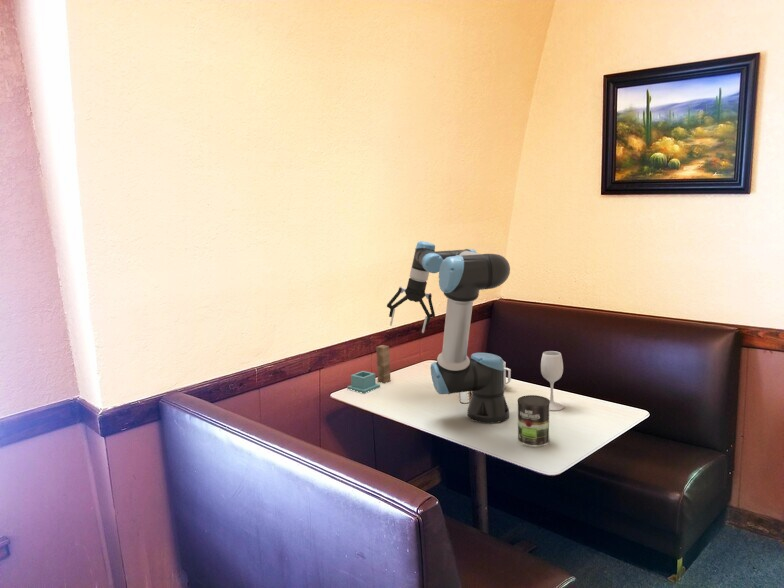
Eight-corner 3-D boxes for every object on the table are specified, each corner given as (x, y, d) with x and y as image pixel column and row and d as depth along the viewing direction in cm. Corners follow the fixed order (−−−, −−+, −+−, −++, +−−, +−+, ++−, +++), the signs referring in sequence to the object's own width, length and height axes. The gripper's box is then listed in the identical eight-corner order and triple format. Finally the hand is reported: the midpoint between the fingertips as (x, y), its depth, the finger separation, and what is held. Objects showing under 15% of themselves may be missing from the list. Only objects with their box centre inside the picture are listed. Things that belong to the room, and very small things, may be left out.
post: (390, 381, 268) (389, 346, 266) (384, 383, 265) (383, 348, 263) (383, 379, 271) (382, 344, 268) (377, 381, 268) (376, 346, 265)
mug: (480, 388, 253) (479, 363, 251) (492, 383, 259) (492, 358, 257) (503, 394, 245) (503, 368, 243) (516, 389, 251) (516, 363, 249)
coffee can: (544, 449, 192) (544, 407, 190) (513, 443, 198) (512, 402, 195) (553, 437, 201) (553, 397, 199) (523, 432, 206) (523, 393, 204)
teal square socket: (380, 387, 260) (379, 373, 259) (364, 393, 253) (363, 379, 252) (363, 383, 267) (362, 369, 266) (347, 389, 260) (346, 375, 258)
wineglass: (539, 402, 234) (539, 350, 231) (562, 403, 232) (563, 350, 229) (540, 410, 226) (540, 356, 222) (564, 411, 224) (564, 356, 220)
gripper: (447, 284, 249) (436, 332, 253) (388, 271, 249) (378, 319, 253) (448, 287, 241) (436, 337, 246) (387, 274, 241) (376, 324, 246)
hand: (406, 328), depth 250 cm, fingers open, 13 cm apart
